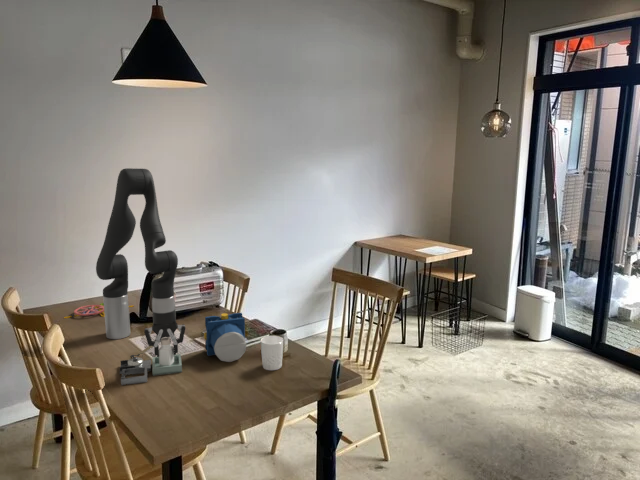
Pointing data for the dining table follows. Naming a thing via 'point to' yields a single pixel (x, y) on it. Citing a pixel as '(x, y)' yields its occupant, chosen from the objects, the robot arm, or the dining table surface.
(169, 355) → the pepper shaker
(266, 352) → the white cup
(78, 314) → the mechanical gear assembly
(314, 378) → the dining table surface
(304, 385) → the dining table surface
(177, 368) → the tray
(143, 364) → the grey caddy
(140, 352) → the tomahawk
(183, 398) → the dining table surface
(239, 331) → the blue boxy device
